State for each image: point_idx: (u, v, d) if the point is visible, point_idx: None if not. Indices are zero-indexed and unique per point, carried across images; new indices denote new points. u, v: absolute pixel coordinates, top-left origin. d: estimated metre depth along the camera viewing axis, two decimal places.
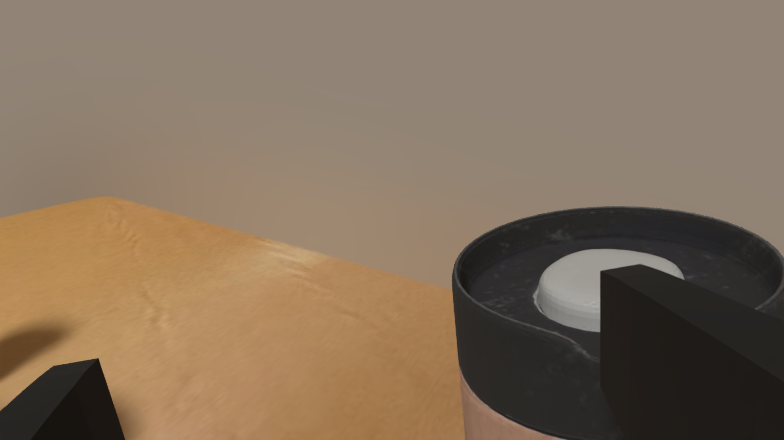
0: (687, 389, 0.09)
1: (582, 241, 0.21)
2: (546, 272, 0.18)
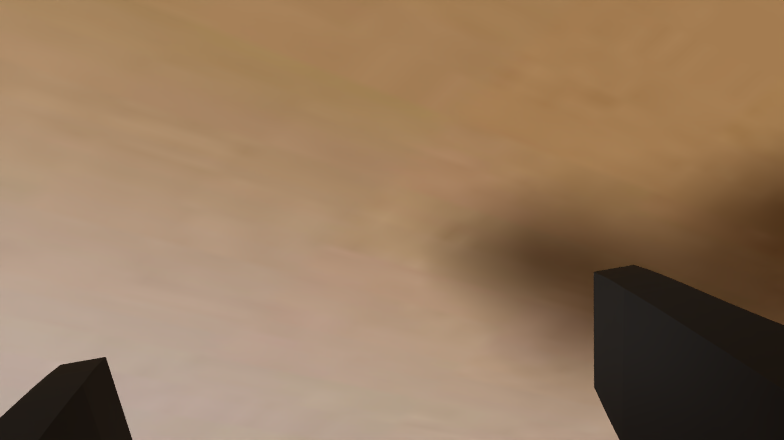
0: (679, 391, 0.09)
1: None
2: None
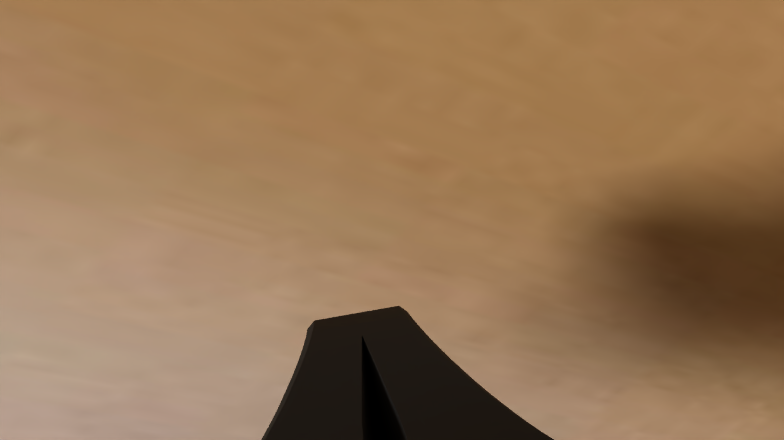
0: None
1: None
2: None
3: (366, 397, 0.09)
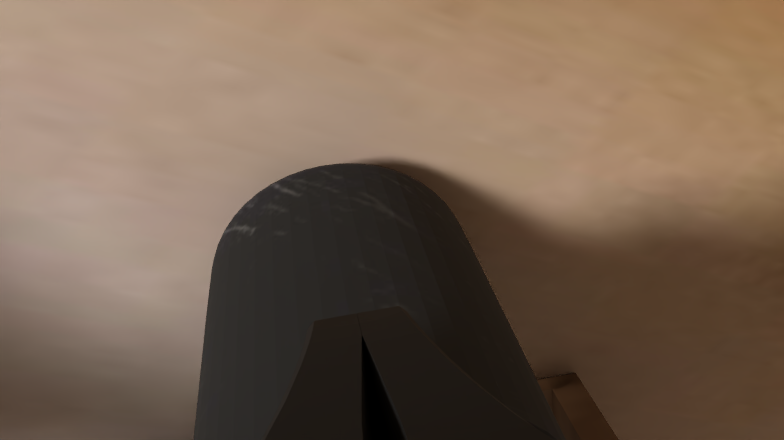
0: None
1: None
2: None
3: (366, 397, 0.09)
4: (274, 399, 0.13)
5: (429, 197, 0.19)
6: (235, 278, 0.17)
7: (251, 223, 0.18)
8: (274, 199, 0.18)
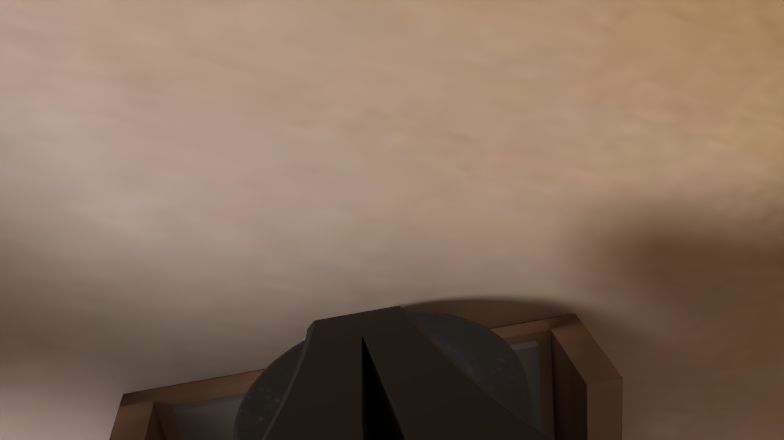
0: None
1: None
2: None
3: (366, 397, 0.09)
4: None
5: None
6: None
7: None
8: None
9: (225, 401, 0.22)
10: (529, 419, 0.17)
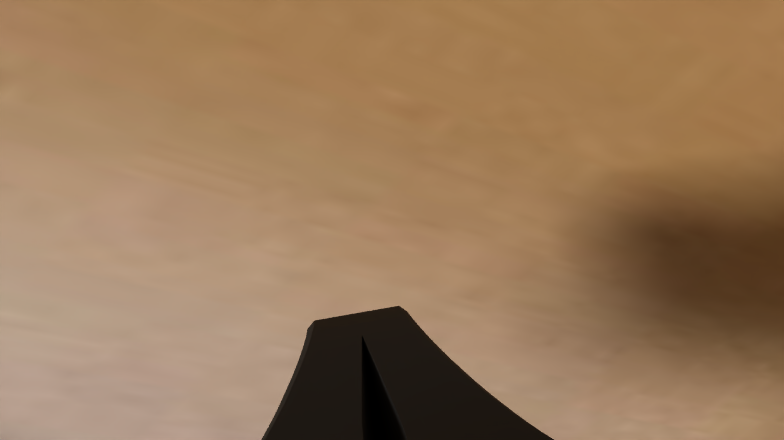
0: None
1: None
2: None
3: (366, 397, 0.09)
4: None
5: None
6: None
7: None
8: None
9: None
10: None
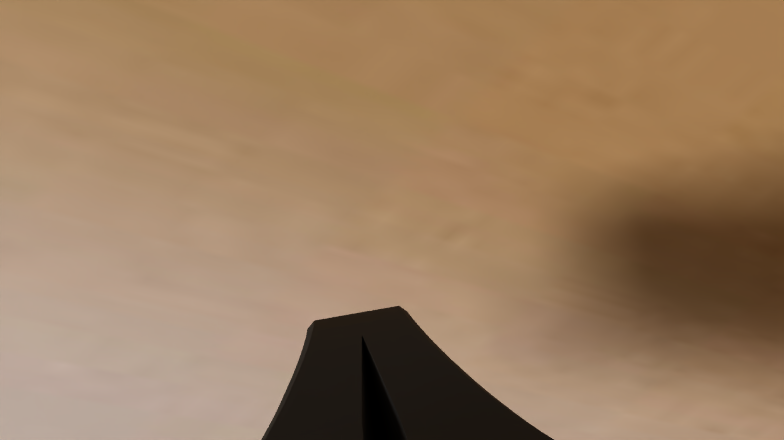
0: None
1: None
2: None
3: (366, 397, 0.09)
4: None
5: None
6: None
7: None
8: None
9: None
10: None
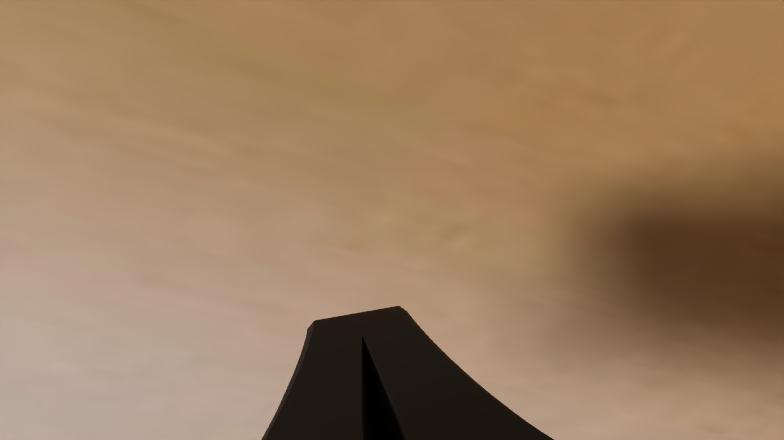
0: None
1: None
2: None
3: (366, 397, 0.09)
4: None
5: None
6: None
7: None
8: None
9: None
10: None
